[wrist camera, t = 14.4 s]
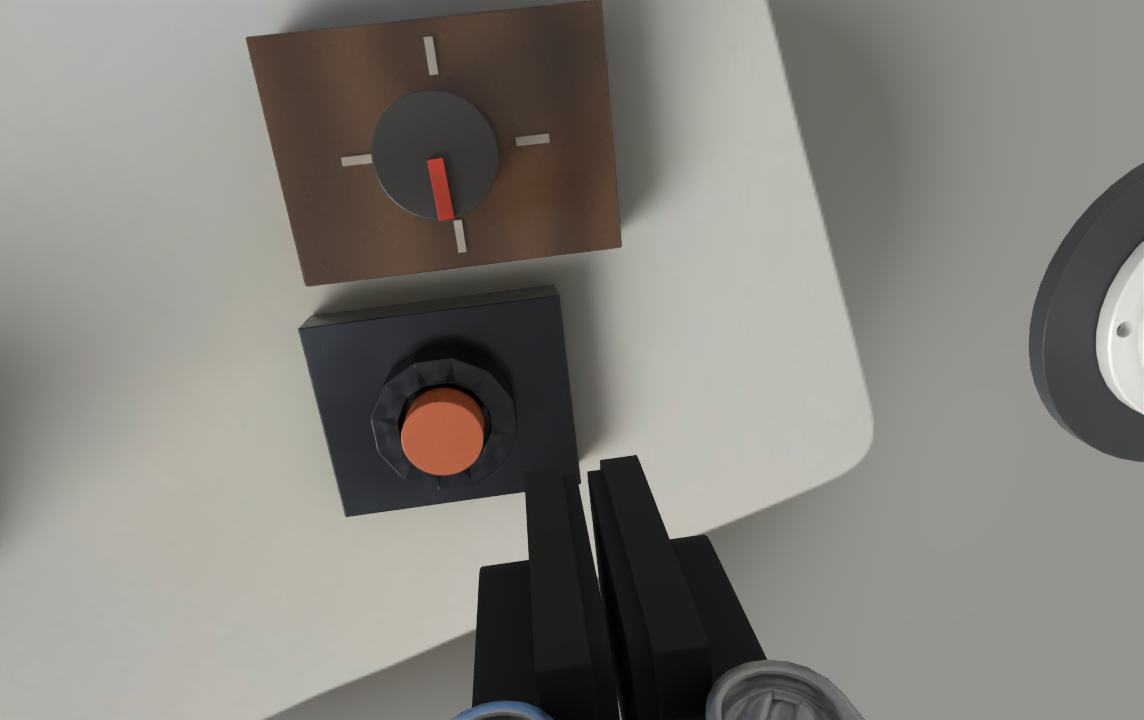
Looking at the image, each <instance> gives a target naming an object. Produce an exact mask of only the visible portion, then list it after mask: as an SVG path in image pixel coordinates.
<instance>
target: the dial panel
mask: <svg viewBox="0 0 1144 720" xmlns="http://www.w3.org/2000/svg"><path fill="white" fill-rule="evenodd" d="M246 42H247V46H248V51H249V55H250V59H251V63H252V67H253V71H254V75H255V80H256V84H257V88H258V92H259V96H260V100H261V104H262V109H263V113H264V117H265V121H266V125H267V129H268V133H269V138H270V142H271V146H272V150H273V154H274V158H275V162H276V167H277V171H278V175H279V179H280V183H281V187H282V191H283V196H284V200H285V204H286V208H287V212H288V216H289V220H290V225H291V229H292V233H293V237H294V241H295V245H296V250H297V254H298V258H299V262H300V266H301V270H302V274H303V279H304V283H305V286H307V287H308V286H316V285H324V284H332V283H340V282H348V281H356V280H364V279H372V278H380V277H388V276H396V275H405V274H413V273H421V272H429V271H437V270H445V269H453V268H461V267H469V266H477V265H485V264H493V263H501V262H509V261H517V260H525V259H533V258H541V257H549V256H557V255H566V254H574V253H582V252H590V251H598V250H606V249H614V248H621V247H622V240H621V228H620V216H619V204H618V192H617V180H616V168H615V156H614V144H613V132H612V120H611V108H610V96H609V84H608V72H607V60H606V48H605V36H604V24H603V12H602V1H601V0H588V1H579V2H570V3H560V4H551V5H542V6H532V7H523V8H513V9H504V10H495V11H485V12H476V13H467V14H457V15H448V16H438V17H429V18H420V19H410V20H401V21H391V22H382V23H373V24H363V25H354V26H345V27H335V28H326V29H316V30H307V31H298V32H288V33H279V34H270V35H260V36H251V37H246ZM431 89H432V90H442V91H447V92H450V93H453V94H456V95H459V96H462V97H464V98H466V99H468V100H470V101H472V102H473V103H475V104H476V105H477V106H479V107H480V108H481V109H482V110H483V111H484V112H485V113H486V115H487V116H488V117H489V119H490V120H491V122H492V124H493V126H494V128H495V130H496V133H497V136H498V140H499V148H500V154H499V165H498V171H497V175H496V179H495V182H494V184H493V186H492V188H491V190H490V192H489V193H488V195H487V196H486V197H485V199H484V200H483V201H482V202H481V203H480V204H479V205H478V206H477V207H476V208H474V209H473V210H471V211H470V212H468V213H466V214H464V215H462V216H459V217H456V218H454V219H448V220H441V221H439V220H430V219H424V218H421V217H418V216H415V215H413V214H411V213H408V212H407V211H405V210H403V209H402V208H400V207H399V206H398V205H397V204H395V203H394V202H393V201H392V200H391V199H390V198H389V197H388V195H387V194H386V193H385V192H384V190H383V189H382V187H381V185H380V184H379V182H378V179H377V177H376V175H375V172H374V168H373V164H372V157H371V146H372V138H373V134H374V131H375V128H376V126H377V123H378V121H379V120H380V118H381V116H382V115H383V113H384V112H385V111H386V110H387V109H388V108H389V107H390V106H391V105H392V104H393V103H394V102H395V101H397V100H398V99H400V98H401V97H403V96H405V95H407V94H410V93H413V92H416V91H421V90H431Z"/></svg>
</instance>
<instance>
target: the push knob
mask: <svg viewBox="0 0 1144 720" xmlns="http://www.w3.org/2000/svg"><path fill="white" fill-rule="evenodd" d="M484 424H485V423H484V416H483V412H482V410H481V408H480V406H479V405H478V403H477V402H476V401H475V400H474V399H473V398H472V397H471V396H470V395H468V394H467V393H465V392H463V391H461V390H458V389H454V388H447V387H442V388H435V389H431V390H428V391H426V392H424V393H423V394H421V395H420V396H418V397H417V398H416V399H415V400H414V401H413V403H412V404H411V406H410V408H409V410H408V412H407V415H406V419H405V422H404V425H403V428H402V432H401V443H402V447H403V450H404V452H405V454H406V456H407V458H408V459H409V460H410V461H411V462H412V463H413V464H414V465H415V466H416V467H418V468H419V469H421V470H423V471H425V472H427V473H430V474H435V475H451V474H455V473H458V472H461V471H463V470H465V469H466V468H468V467H469V466H471V465H472V464H473V463H474V462H475V461H476V459H477V458H478V457H479V455H480V453H481V450H482V447H483V440H484Z"/></svg>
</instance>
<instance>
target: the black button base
mask: <svg viewBox="0 0 1144 720" xmlns="http://www.w3.org/2000/svg"><path fill="white" fill-rule="evenodd" d="M298 330H299V334H300V338H301V342H302V346H303V350H304V354H305V358H306V362H307V366H308V370H309V374H310V378H311V382H312V386H313V390H314V394H315V398H316V402H317V406H318V410H319V414H320V418H321V422H322V426H323V430H324V434H325V438H326V442H327V446H328V450H329V454H330V458H331V462H332V466H333V470H334V474H335V478H336V482H337V486H338V490H339V494H340V498H341V502H342V506H343V510H344V514H345V517H349V516H356V515H363V514H370V513H378V512H385V511H392V510H399V509H406V508H413V507H420V506H427V505H435V504H442V503H449V502H456V501H463V500H470V499H477V498H484V497H491V496H499V495H506V494H513V493H520V492H525V478H524V471H525V470H533V469H540V468H547V467H554V466H560V467H561V473H562V475H567V474H574V473H576V475H577V480H578V484H581V478H580V469H579V461H578V452H577V444H576V435H575V426H574V418H573V409H572V401H571V392H570V383H569V375H568V366H567V358H566V349H565V340H564V332H563V323H562V315H561V306H560V298H559V293H558V290H557V287H556V285H550V286H542V287H534V288H526V289H519V290H511V291H503V292H495V293H487V294H479V295H471V296H463V297H455V298H447V299H439V300H431V301H423V302H416V303H408V304H400V305H392V306H384V307H376V308H368V309H360V310H352V311H344V312H336V313H328V314H321V315H313V316H310V317H309V318H308V319H307V320H306V321H305V322H304V323H303V324H302V326H301V327H300V328H299V329H298ZM442 387H447V388H454V389H458V390H461V391H463V392H465V393H467V394H468V395H470V396H471V397H472V398H473V399H474V400H475V401H476V402H477V403H478V405H479V406H480V408H481V410H482V412H483V416H484V423H485V424H484V440H483V447H482V450H481V453H480V455H479V457H478V458H477V459H476V461H475V462H474V463H473V464H472V465H471V466H469V467H468V468H466V469H465V470H463V471H461V472H458V473H455V474H451V475H435V474H430V473H427V472H425V471H423V470H421V469H419V468H418V467H416V466H415V465H414V464H413V463H412V462H411V461H410V460H409V459H408V458H407V456H406V454H405V452H404V450H403V447H402V443H401V432H402V428H403V425H404V422H405V419H406V415H407V412H408V410H409V408H410V406H411V404H412V403H413V401H414V400H415V399H416V398H417V397H418V396H420V395H421V394H423V393H424V392H426V391H428V390H431V389H435V388H442Z"/></svg>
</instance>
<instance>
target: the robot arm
mask: <svg viewBox="0 0 1144 720" xmlns="http://www.w3.org/2000/svg"><path fill="white" fill-rule="evenodd" d="M1096 354H1097V359H1098V364H1099V369H1100V372H1101V374H1102V376H1103V378H1104V380H1105V382H1106V384H1107V386H1108V388H1109V389H1110V390H1111V391H1112V392H1113V394H1114V395H1115V396H1116V397H1117V398H1118V399H1119V400H1120V401H1121V402H1123V403H1124V404H1126V405H1127V406H1128V407H1130V408H1131V409H1133V410H1135V411H1137V412H1139V413H1141V414H1143V415H1144V241H1143V242H1142V243H1141V244H1140V245H1139V246H1138V247H1137V248H1136V249H1135V250H1134V251H1133V253H1132V254H1131V255H1130V257H1129V258H1128V259H1127V260H1126V262H1125V263H1124V264H1123V265H1122V267H1121V268H1120V270H1119V272H1118V274H1117V275H1116V277H1115V279H1114V281H1113V282H1112V284H1111V286H1110V288H1109V290H1108V292H1107V295H1106V297H1105V300H1104V303H1103V305H1102V308H1101V311H1100V316H1099V321H1098V326H1097V331H1096ZM587 474H588V485H589V494H590V503H591V512H592V521H593V529H594V538H595V547H596V556H597V565H598V574H599V583H600V591H599V587H598V581H597V576H596V571H595V566H594V561H593V556H592V551H591V546H590V541H589V536H588V531H587V526H586V521H585V516H584V511H583V506H582V501H581V495H580V490H579V485H578V480H577V475H576V473H574V474H567V475H562V473H561V467H560V466H554V467H547V468H540V469H533V470H525V471H524V478H525V496H526V514H527V533H528V551H529V560H525V561H518V562H511V563H504V564H497V565H490V566H484V567H481V568H480V574H479V589H478V607H477V626H476V644H475V663H474V681H473V699H472V708H471V709H468V710H466V711H463V712H461V713H460V714H459V715H457V716H456V717H454V718H453V719H452V720H620V717H619V709H618V702H619V707H620V712H621V717H622V720H865V719H864V718H863V717H862V715H861V714H860V713H859V712H858V710H857V709H856V708H855V707H854V706H853V704H852V703H851V702H850V700H849V699H848V698H847V697H846V695H845V694H844V693H843V692H842V691H841V690H839V689H838V687H836V686H835V685H834V684H833V683H832V682H831V681H830V680H829V679H828V678H826V677H824V676H822V675H821V674H819V673H817V672H815V671H814V670H812V669H810V668H807V667H804V666H801V665H798V664H794V663H791V662H788V661H776V660H767V658H766V656H765V654H764V652H763V650H762V648H761V646H760V644H759V642H758V640H757V638H756V635H755V633H754V631H753V629H752V627H751V625H750V623H749V621H748V619H747V617H746V615H745V613H744V610H743V608H742V606H741V604H740V602H739V600H738V598H737V596H736V594H735V592H734V590H733V587H732V585H731V583H730V581H729V579H728V577H727V575H726V573H725V571H724V569H723V567H722V564H721V563H720V560H719V559H718V556H717V554H716V552H715V550H714V548H713V546H712V544H711V542H710V540H709V539H708V537H707V536H706V535H697V536H690V537H683V538H676V539H669V537H668V534H667V531H666V529H665V526H664V524H663V521H662V519H661V516H660V513H659V511H658V508H657V506H656V503H655V500H654V498H653V495H652V493H651V490H650V488H649V485H648V482H647V480H646V477H645V475H644V472H643V469H642V467H641V464H640V462H639V459H638V457H637V455H633V456H626V457H619V458H612V459H605V460H600V470H596V471H589V472H587ZM600 592H601V596H600ZM617 697H618V699H617Z"/></svg>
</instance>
